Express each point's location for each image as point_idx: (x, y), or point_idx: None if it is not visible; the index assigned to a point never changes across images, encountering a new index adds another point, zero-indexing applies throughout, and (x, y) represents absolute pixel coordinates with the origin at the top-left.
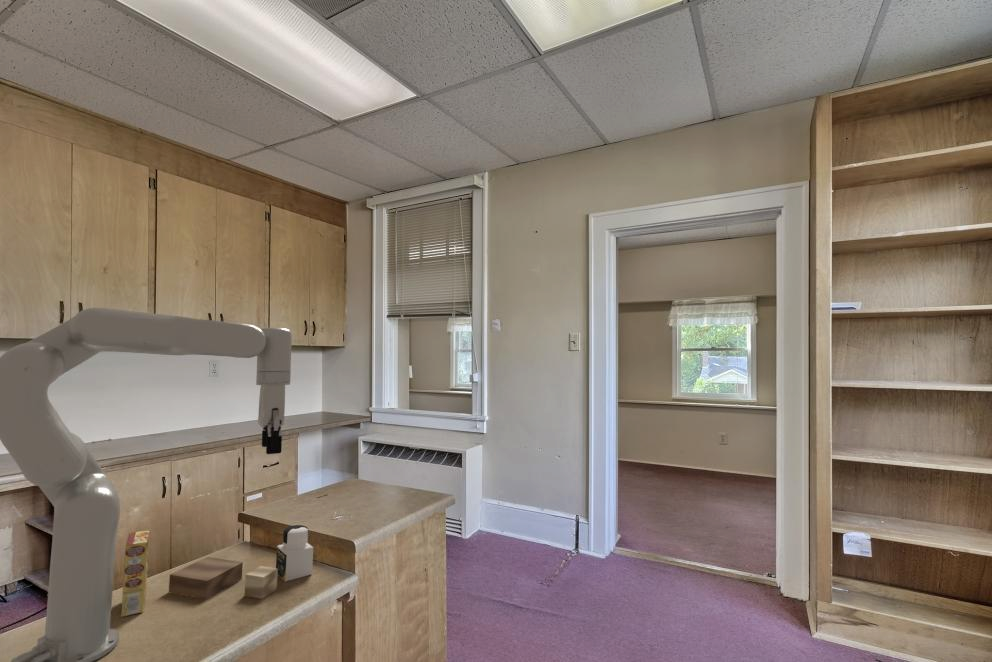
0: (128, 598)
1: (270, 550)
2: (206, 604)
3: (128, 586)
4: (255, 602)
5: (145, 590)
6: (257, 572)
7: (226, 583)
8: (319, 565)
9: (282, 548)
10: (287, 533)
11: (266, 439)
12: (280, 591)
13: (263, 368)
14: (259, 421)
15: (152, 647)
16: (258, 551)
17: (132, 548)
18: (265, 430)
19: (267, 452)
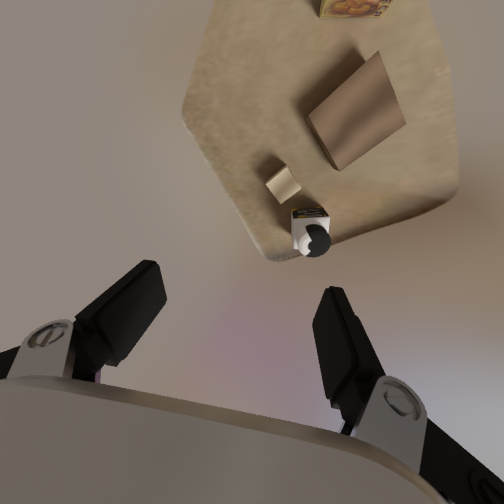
0: None
1: (396, 217)
2: (289, 117)
3: None
4: (262, 172)
5: (340, 1)
6: (283, 181)
7: (322, 147)
8: None
9: (313, 220)
10: (307, 231)
11: (330, 325)
12: (272, 199)
13: None
14: (127, 474)
15: (214, 42)
16: (407, 203)
17: None
18: (361, 378)
19: (142, 264)
